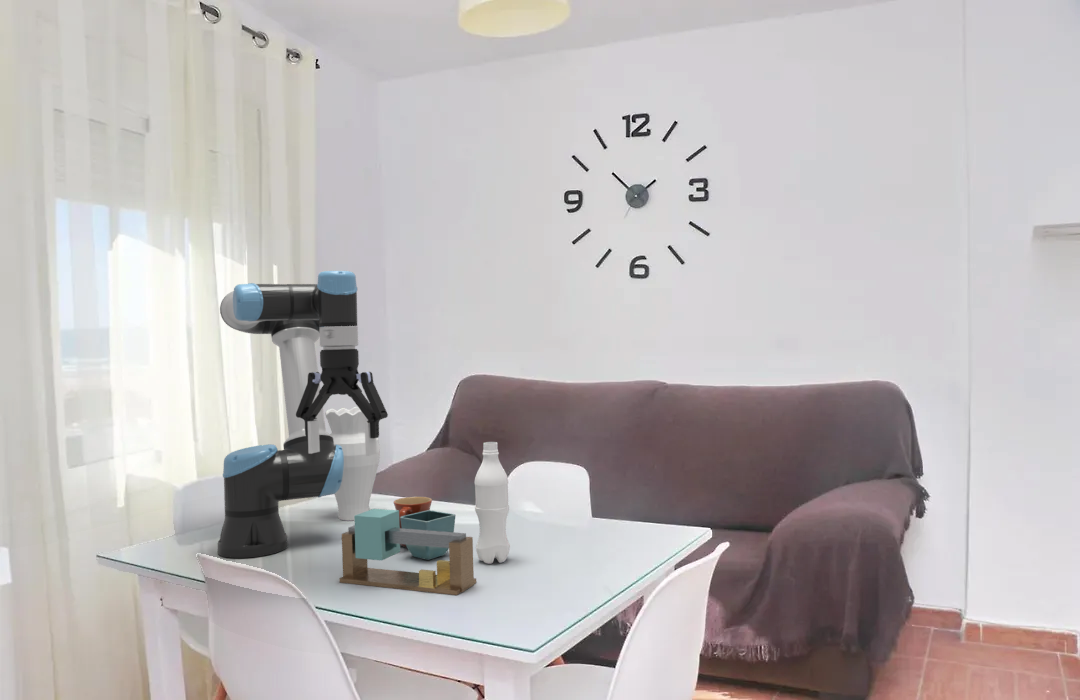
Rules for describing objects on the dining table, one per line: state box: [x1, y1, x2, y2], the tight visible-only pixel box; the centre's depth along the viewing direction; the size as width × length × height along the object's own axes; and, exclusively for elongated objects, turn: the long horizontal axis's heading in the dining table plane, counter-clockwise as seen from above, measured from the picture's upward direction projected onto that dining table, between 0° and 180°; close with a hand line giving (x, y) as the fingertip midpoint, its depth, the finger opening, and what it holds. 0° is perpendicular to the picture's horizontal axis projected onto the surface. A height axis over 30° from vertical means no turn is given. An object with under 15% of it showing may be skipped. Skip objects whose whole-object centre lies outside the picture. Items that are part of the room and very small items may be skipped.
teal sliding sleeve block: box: [354, 508, 401, 561], centre depth 163 cm, size 6×7×8 cm
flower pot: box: [400, 509, 456, 561], centre depth 179 cm, size 9×9×9 cm
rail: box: [338, 524, 477, 596], centre depth 160 cm, size 26×8×10 cm, turn 68°
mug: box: [393, 496, 433, 549], centre depth 188 cm, size 12×9×10 cm
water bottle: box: [473, 441, 511, 565], centre depth 174 cm, size 7×7×25 cm
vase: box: [324, 406, 381, 522], centre depth 220 cm, size 15×15×29 cm
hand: (342, 453), depth 166 cm, fingers open, 13 cm apart
